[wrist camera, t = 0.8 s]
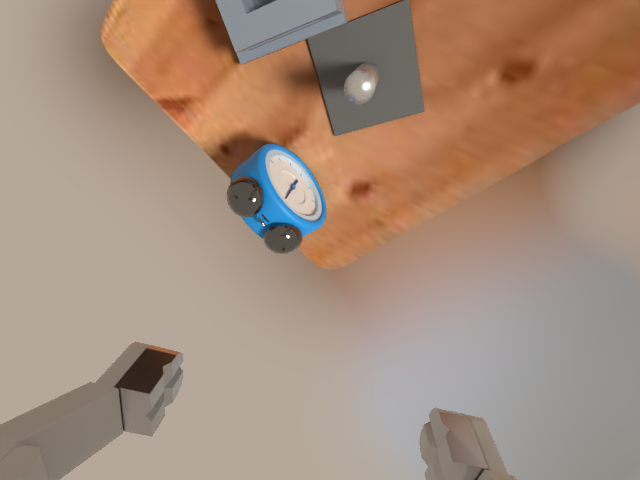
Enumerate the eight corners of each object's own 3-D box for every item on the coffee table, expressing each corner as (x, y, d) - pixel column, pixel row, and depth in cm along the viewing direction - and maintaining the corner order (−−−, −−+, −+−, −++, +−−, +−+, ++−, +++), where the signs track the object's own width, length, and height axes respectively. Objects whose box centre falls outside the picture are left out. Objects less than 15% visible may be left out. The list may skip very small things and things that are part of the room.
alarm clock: (334, 199, 49) (314, 254, 37) (305, 217, 52) (277, 274, 40) (280, 130, 45) (237, 167, 33) (252, 154, 48) (202, 196, 36)
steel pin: (376, 58, 37) (370, 66, 29) (381, 84, 39) (377, 99, 31) (352, 66, 38) (340, 76, 30) (358, 92, 40) (348, 108, 32)
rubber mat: (408, -2, 34) (408, -2, 34) (424, 110, 40) (424, 111, 40) (307, 38, 38) (307, 38, 38) (335, 135, 44) (334, 136, 44)
